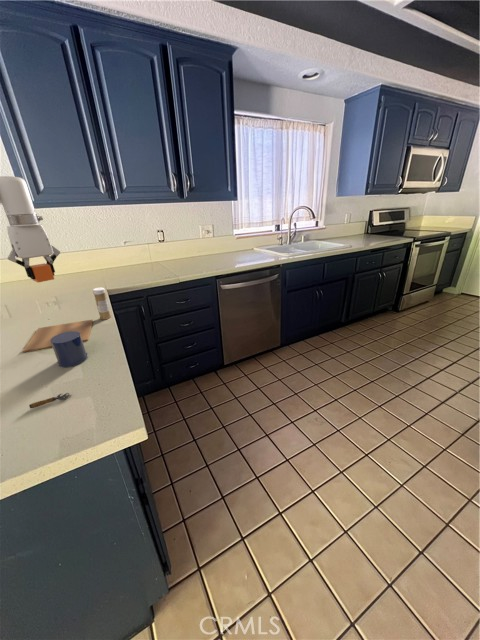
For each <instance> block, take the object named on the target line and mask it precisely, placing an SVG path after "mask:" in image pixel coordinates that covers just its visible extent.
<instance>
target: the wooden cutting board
mask: <svg viewBox="0 0 480 640" xmlns="http://www.w3.org/2000/svg"><path fill="white" fill-rule="evenodd" d="M93 323H94V319H87V320H80V321H74V322H68V323H62V324H56V325H49V326H43V327H42V326H41V327H38V328H37V329H36V331H35V332H34V334H33V336H31V338H30V339H29V341H28V342H27V344H26V346H25V347H24V349H22V353H28V352H33V351H39V350H45V349H50V348H51V349H52V348H53V347H52V344H51V342H50V340H51V338H53V337H54V336H56V335H58V334H61V333H64V332H70V331H77V332H79V333H80V335H81V338H82V341H83V342H88V341H89V339H90V335H91V330H92V326H93Z"/></svg>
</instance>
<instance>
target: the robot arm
mask: <svg viewBox="0 0 480 640" xmlns="http://www.w3.org/2000/svg"><path fill="white" fill-rule="evenodd" d="M0 204H1V205H2V207H3V210H4V213H5V215H6V219H7V222H8V224H9V225H8V226H6V229H7V230H6V231H7V235H8V239H9V243H10V246H11V247H10V248H11V250H10V253H9V254H8V256H7V260H8V261H10V262H13V263H15V264H17V265H19V266H21V267H22V268H24V270H25V273H26V276H27V277H28V278H30V279H31V280H32V281H33V280H34V279H35V276H34V273H33V270H32V268H31V267H30V266H31V265H30V259H34V258H39V257H40V258H41V257H43V259H44V260H45V262H46V263H45V264H48V265H50V267H51V270H52V273H53V276H55V273H56V270H55V267H54V263H55V260H56V259H57V257H58V256H60V254H61V251H60V250H59V249H57V247H55V246H53V245H52V244H51V241H50V238H49V236H48V234H47V231H46V230H45V228H44V226H43V225H42V224H40V222H41V221H43V220H44V218H43V216H42V215H38V214H37V213H36V209H35V206H34V204H33V201H32V197H31V194H30V191H29V187H28V185H27V182H26V180H25V179H24V178H23V177H19V176H11V175H10V176H9V175H8V176H7V175H6V176H5V175H3V176H2V175H1V176H0ZM17 258H20V259H21V260H20V259H17Z"/></svg>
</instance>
